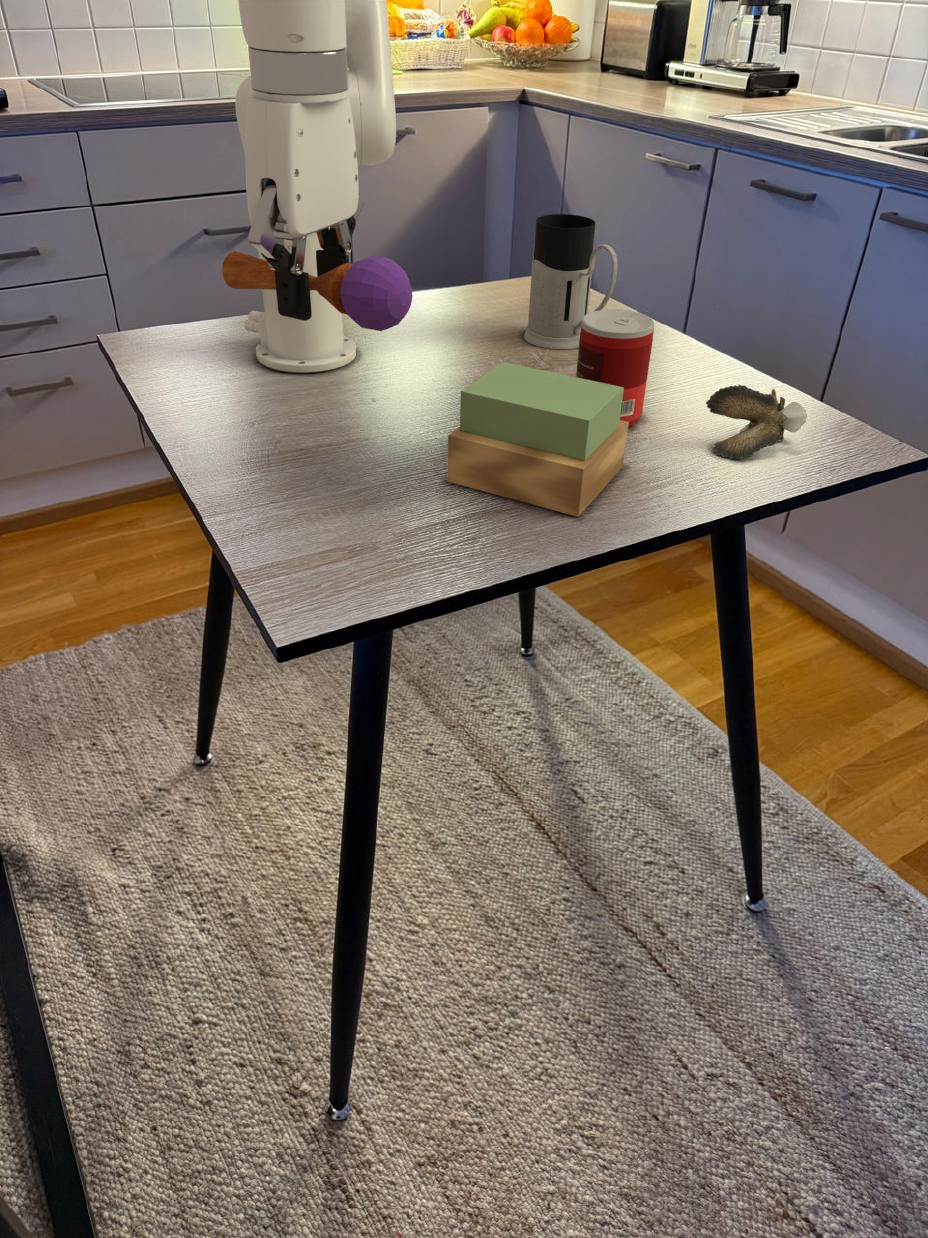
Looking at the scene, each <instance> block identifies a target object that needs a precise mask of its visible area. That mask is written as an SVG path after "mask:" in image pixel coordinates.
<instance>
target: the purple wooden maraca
mask: <svg viewBox="0 0 928 1238" xmlns="http://www.w3.org/2000/svg"><path fill="white" fill-rule="evenodd" d="M221 273H222V279H223V281H224V282H225V284H226V285H227V286H228V287H229V288H230V289H235V290H262V289H271V290H276V283H275V272H274V270H271V269H270V268H269V262H268V261H266V260H263V259H260V258H259V257H257V256H253V255H250V254H247V253H244V252H241V251H237V250H235V251H231V252H229V253H228V254H227V255H226V256H225V257H224V260H223V262H222V268H221ZM309 284H310V290H316V291H317V292H318V293H319V294H321V295H322V296H323V297H324V298H325V299H326V300H327V301H328V302H329V303H330V304H331V305H332V306H333V307H335V308H336V309H337V310H338V311H339V312H340V313H342V315H347V316H348V317H349V318H350V319H351V320H352V321H353V322H355V324H357V325H358V327H360V328H361V329H366V330H371V331H377V332H384V331H386V330H388V329H389V330H390V329H391V328H394V327H397V326H398V325H400V323H401V322H402V321H403V320H404V318H405V317H406V316H407V314H408V313H409V311H410V309H411V307H412V302H413V288H412V285H411V282H410V280H409V277H408V274H407V272H406V271H405V270H404V269H403V268H402V266H401V265H400V264H398V263H396V261H394V260H393V259H392V258H388V257H384V256H379V255H370V256H367V257H365V258H362V259H359V260H357V261H355V262H353V263H350V262H349V263H346V264H343V265H341V266H339V267H337V268H335V269H333V270H331V271H329V272H327V273H325V274H323V275H321V276H319V277H315V276H312V275H309Z"/></svg>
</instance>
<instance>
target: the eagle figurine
mask: <svg viewBox="0 0 928 1238" xmlns="http://www.w3.org/2000/svg"><path fill="white" fill-rule="evenodd" d="M705 404H706V405H707V406H706V408H707V409H709V413H712V414H714V415H718V416H722V417H723V416H724V417H727V418H730V419H733V420H744V421H749V422H748V424H746V425H744V426H743V427H742V428H741V429H740V430H739V432H738V433H736V434H734V435H732V436H731V437H728V438H726V439H723V440H720V441H717V442H715V443H714V446H713V447H712V450H713V451H712V452H713V453H712V454H715V456H721V457H723V458H728V457H729V459H735V460H736V459H738V460H739V459H743V458H747V457H749V456H753V455H754V453H756V452H760V450H761V449H764V448H767V447H768V446H769V447H771V446H772V447H773V446H774V445H775V444H776V443H777V442H779V441H780V442H781V443H782V442H783V441H784V437H785V436H784V433H785V430H786V431H787V432H790V433H797V432H798V431H799V430H800V429H801V428H802V426H804V425H805V423H806V422H807V417H808V413H807V412H808V411H807V410H806V408H805V407H804V406H803V405H802V404H800V403H799V402H797V401H792V402H790V403H789V404H787V406H785V405H786V399H785V398H784V397H783V396H780V397H779V401H778V397H777V392H776V389H774V388H772V390H771V393H764V392H760V391H759V390H755V389H752V388H749V387H748V386H747V385H745V384H744V385H741V384H738V385H736V384H735V385H734V386H732V385H730V386H726V387H723V388H719V389H718V390H717V391H714V393H713V394H712V395H710V396H709V399H707V400H706V402H705Z"/></svg>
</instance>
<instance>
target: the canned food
mask: <svg viewBox="0 0 928 1238" xmlns="http://www.w3.org/2000/svg"><path fill="white" fill-rule="evenodd" d="M593 311H594V312H593ZM593 311H591V312H588V314H586V315H585V316H584V317H583V318H582V323H581V332H580V340H579V347H578V353H577V363H576V374H575V375H576V376H575V377H577V378H582V379H586V380H591V381H596V382H600V383H605V384H610V385H615V386H619V387H624V391H623V399H622V407H621V414H620V420H622V421H626V422H629V425H628V428H631V427H633V426H634V425H636V424H637V423H638V422H639V420H640V418H641V416H642V414H643V410H644V409H643V408H644V404H645V403H644V402H645V396H646V389H647V381H648V374H649V370H650V369H649V368H650V362H651V355H652V348H653V347H652V346H653V341H654V332H655V321H654V319H652V318H651V317H650V316H648V315H646V314H644V313H640V312H638V311H632V310H627V309H613V308H612V309H611V308H610V309H602V310H599V311H595V310H593Z"/></svg>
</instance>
